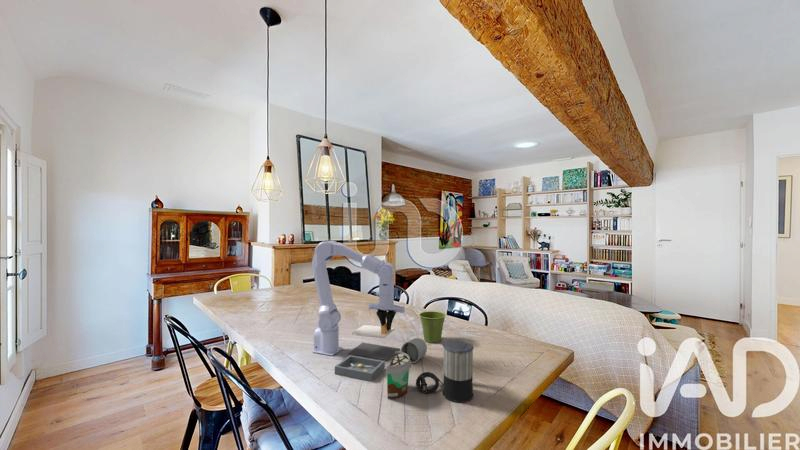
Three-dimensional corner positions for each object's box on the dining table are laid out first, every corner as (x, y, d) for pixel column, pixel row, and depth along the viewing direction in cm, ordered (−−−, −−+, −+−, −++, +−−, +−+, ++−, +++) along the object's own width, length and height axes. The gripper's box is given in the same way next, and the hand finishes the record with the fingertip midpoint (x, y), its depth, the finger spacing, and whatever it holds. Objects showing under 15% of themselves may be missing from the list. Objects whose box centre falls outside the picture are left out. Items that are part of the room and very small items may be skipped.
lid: (351, 335, 124) (351, 325, 124) (364, 327, 133) (363, 318, 133) (384, 339, 118) (384, 328, 118) (394, 330, 128) (394, 320, 128)
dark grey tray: (334, 374, 108) (334, 366, 108) (349, 362, 117) (349, 355, 117) (371, 381, 102) (371, 373, 102) (384, 368, 112) (384, 361, 112)
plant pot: (450, 338, 141) (450, 313, 141) (438, 347, 131) (438, 320, 131) (426, 333, 148) (426, 309, 148) (414, 341, 138) (414, 315, 138)
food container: (407, 404, 90) (407, 368, 90) (386, 401, 91) (386, 366, 91) (414, 382, 102) (414, 351, 102) (395, 380, 103) (395, 350, 103)
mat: (347, 354, 124) (347, 353, 124) (362, 343, 135) (362, 342, 135) (387, 361, 118) (387, 360, 118) (399, 349, 129) (399, 348, 129)
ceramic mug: (428, 357, 121) (428, 337, 121) (419, 365, 114) (418, 344, 114) (404, 352, 126) (403, 333, 127) (393, 360, 119) (393, 339, 119)
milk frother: (479, 400, 92) (479, 349, 92) (428, 409, 87) (428, 355, 87) (457, 377, 105) (457, 333, 105) (412, 384, 101) (412, 337, 101)
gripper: (365, 294, 123) (365, 330, 123) (399, 298, 117) (399, 334, 117) (373, 291, 129) (373, 324, 129) (406, 294, 124) (406, 329, 124)
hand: (386, 329), depth 124 cm, fingers closed on lid
